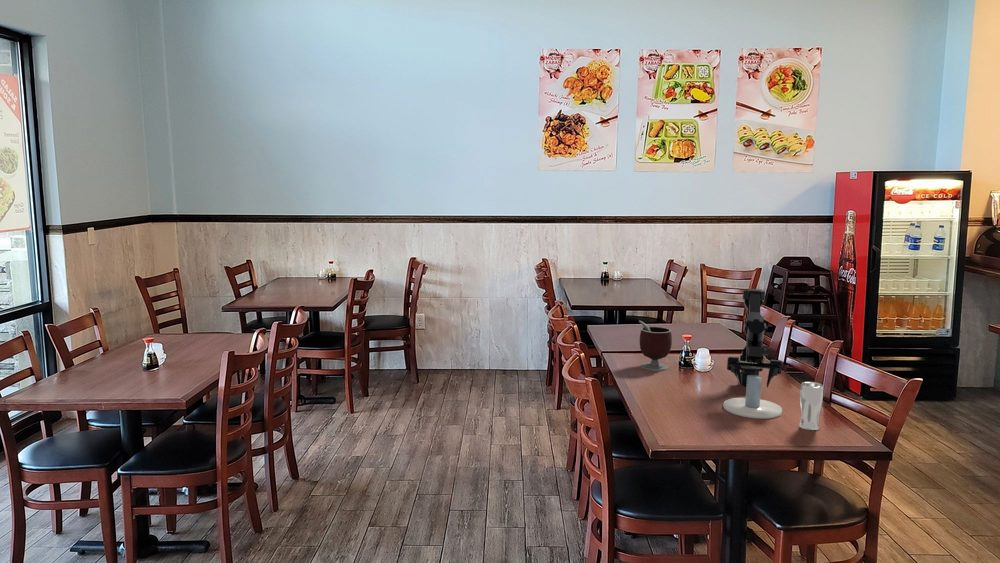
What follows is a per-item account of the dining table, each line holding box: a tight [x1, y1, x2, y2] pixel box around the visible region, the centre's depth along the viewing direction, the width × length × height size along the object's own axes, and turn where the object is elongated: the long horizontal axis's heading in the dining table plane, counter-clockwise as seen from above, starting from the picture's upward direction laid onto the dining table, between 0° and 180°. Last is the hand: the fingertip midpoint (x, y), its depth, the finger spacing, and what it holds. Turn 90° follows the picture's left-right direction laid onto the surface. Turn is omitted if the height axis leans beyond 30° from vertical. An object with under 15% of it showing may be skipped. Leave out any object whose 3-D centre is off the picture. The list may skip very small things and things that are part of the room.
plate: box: [722, 397, 783, 420], centre depth 253 cm, size 20×20×1 cm
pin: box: [745, 375, 763, 408], centre depth 252 cm, size 5×5×11 cm
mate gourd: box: [638, 320, 673, 372], centre depth 309 cm, size 16×14×20 cm
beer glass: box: [798, 381, 824, 431], centre depth 234 cm, size 7×7×15 cm
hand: (753, 385), depth 251 cm, fingers open, 9 cm apart
